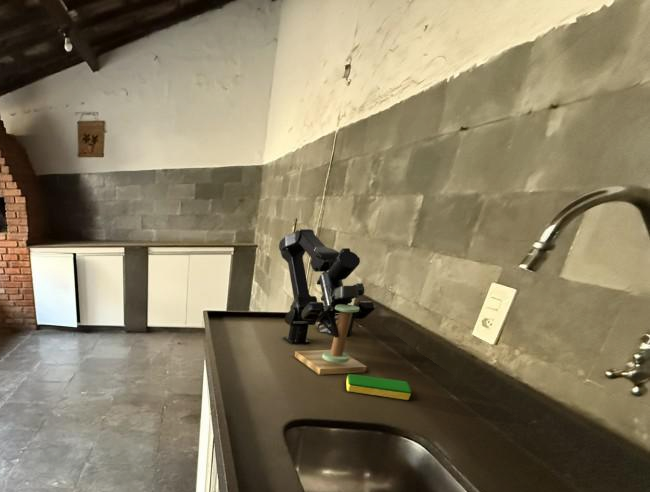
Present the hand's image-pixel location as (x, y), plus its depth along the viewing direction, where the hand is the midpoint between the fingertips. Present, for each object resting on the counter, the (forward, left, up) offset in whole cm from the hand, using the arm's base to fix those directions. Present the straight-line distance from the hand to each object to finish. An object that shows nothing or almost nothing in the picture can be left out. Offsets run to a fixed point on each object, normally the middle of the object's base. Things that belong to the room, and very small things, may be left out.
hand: (343, 336), depth 118 cm
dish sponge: (+15, +3, -10) cm, 18 cm away
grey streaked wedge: (-35, +20, -10) cm, 42 cm away
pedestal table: (-1, 0, -7) cm, 7 cm away
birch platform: (-5, +1, -10) cm, 11 cm away
